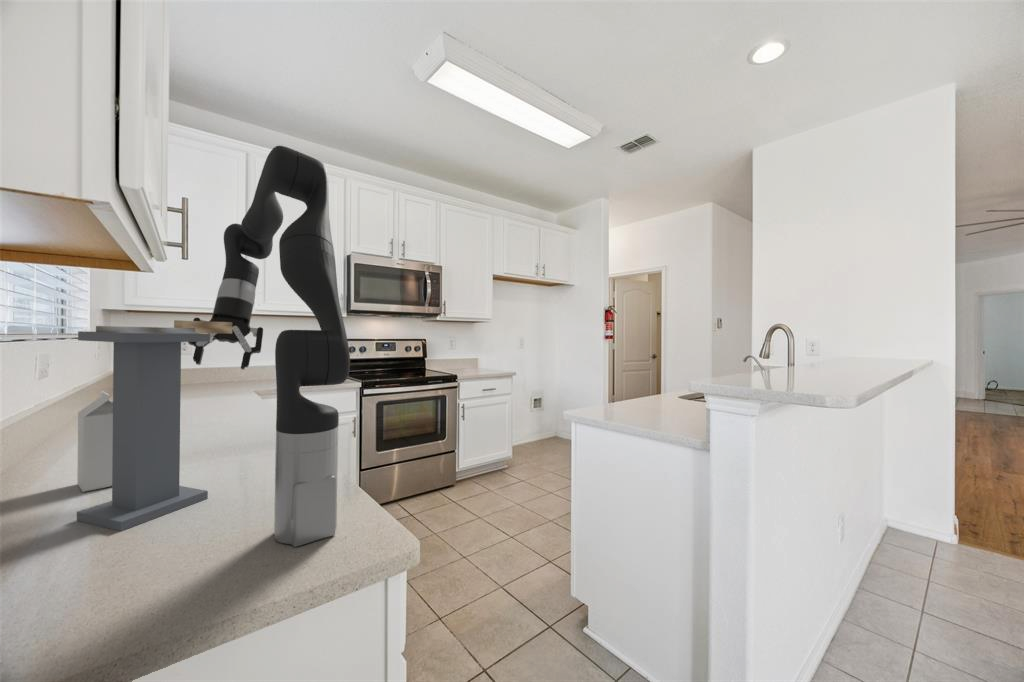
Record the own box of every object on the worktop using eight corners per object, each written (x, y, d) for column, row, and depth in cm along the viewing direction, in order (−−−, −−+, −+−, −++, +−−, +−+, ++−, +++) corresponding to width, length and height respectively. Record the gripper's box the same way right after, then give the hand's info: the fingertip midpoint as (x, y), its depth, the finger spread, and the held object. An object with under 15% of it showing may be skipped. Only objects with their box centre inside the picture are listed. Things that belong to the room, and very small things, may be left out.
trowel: (217, 333, 89) (217, 321, 89) (238, 333, 88) (238, 322, 88) (95, 331, 69) (96, 317, 69) (120, 332, 67) (120, 318, 67)
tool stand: (167, 490, 83) (168, 332, 82) (207, 498, 80) (209, 333, 79) (76, 520, 69) (78, 331, 69) (121, 531, 66) (123, 333, 66)
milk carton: (82, 493, 81) (83, 396, 80) (77, 484, 85) (77, 392, 85) (131, 483, 86) (132, 393, 86) (123, 475, 91) (124, 389, 90)
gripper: (197, 289, 93) (179, 358, 88) (269, 302, 100) (256, 367, 95) (201, 300, 99) (184, 366, 94) (268, 312, 106) (256, 373, 101)
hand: (220, 366), depth 94 cm, fingers open, 8 cm apart
